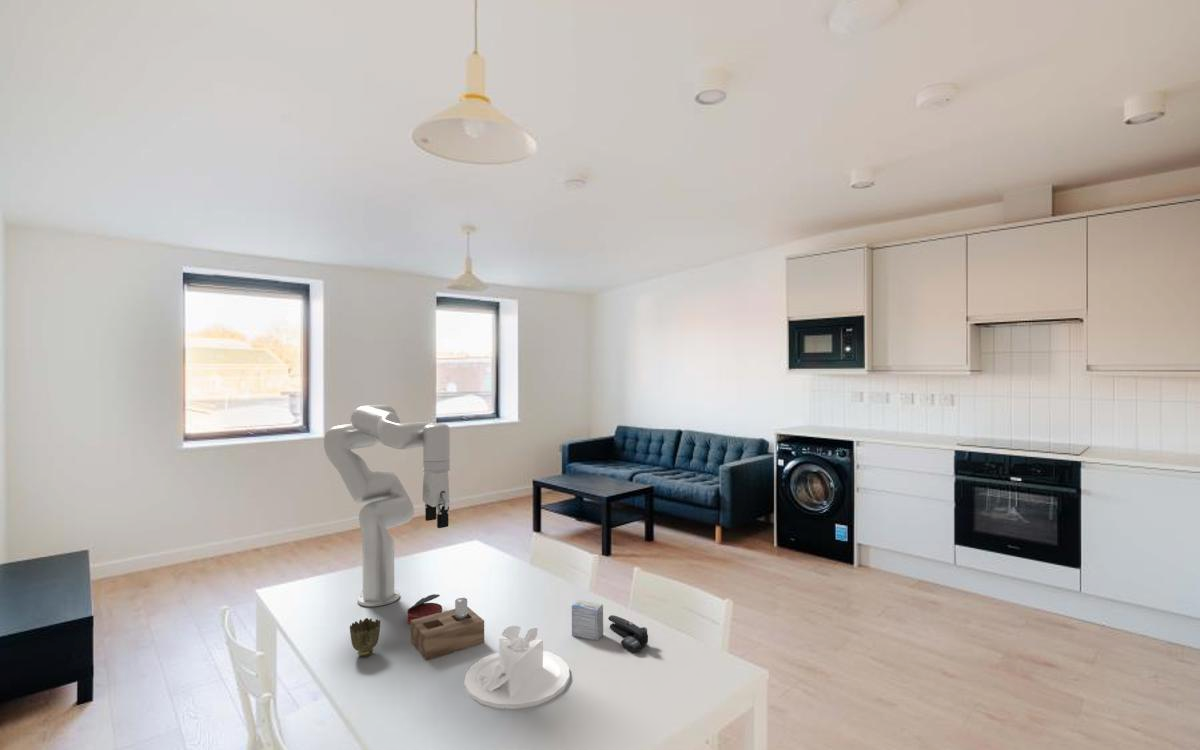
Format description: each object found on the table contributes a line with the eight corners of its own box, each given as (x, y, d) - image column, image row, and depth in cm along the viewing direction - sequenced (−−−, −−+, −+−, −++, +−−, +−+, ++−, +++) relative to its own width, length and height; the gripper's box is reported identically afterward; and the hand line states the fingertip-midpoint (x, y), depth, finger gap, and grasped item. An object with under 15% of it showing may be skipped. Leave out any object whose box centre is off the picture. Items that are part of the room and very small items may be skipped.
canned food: (413, 642, 165) (395, 615, 163) (417, 623, 174) (400, 597, 172) (449, 622, 166) (432, 594, 164) (451, 604, 176) (435, 578, 174)
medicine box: (603, 635, 159) (603, 604, 159) (597, 641, 155) (597, 610, 155) (578, 629, 163) (578, 599, 163) (571, 636, 159) (571, 605, 158)
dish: (478, 652, 150) (478, 610, 150) (573, 654, 149) (573, 611, 149) (450, 708, 125) (450, 657, 125) (564, 711, 124) (564, 659, 124)
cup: (386, 650, 151) (386, 620, 151) (366, 663, 144) (366, 632, 144) (363, 645, 153) (363, 616, 153) (343, 658, 146) (343, 627, 146)
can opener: (655, 650, 151) (655, 629, 151) (632, 657, 148) (632, 635, 147) (621, 624, 166) (621, 605, 166) (600, 629, 163) (600, 609, 163)
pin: (453, 632, 158) (453, 599, 158) (464, 629, 160) (464, 596, 159) (458, 636, 155) (457, 603, 155) (469, 633, 157) (469, 600, 157)
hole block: (410, 642, 155) (410, 620, 155) (466, 626, 164) (466, 605, 164) (425, 660, 145) (425, 637, 145) (484, 642, 155) (484, 620, 155)
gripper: (414, 463, 174) (414, 519, 174) (434, 471, 160) (434, 532, 160) (438, 460, 178) (438, 515, 178) (460, 468, 164) (460, 528, 164)
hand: (436, 523), depth 169 cm, fingers open, 9 cm apart
